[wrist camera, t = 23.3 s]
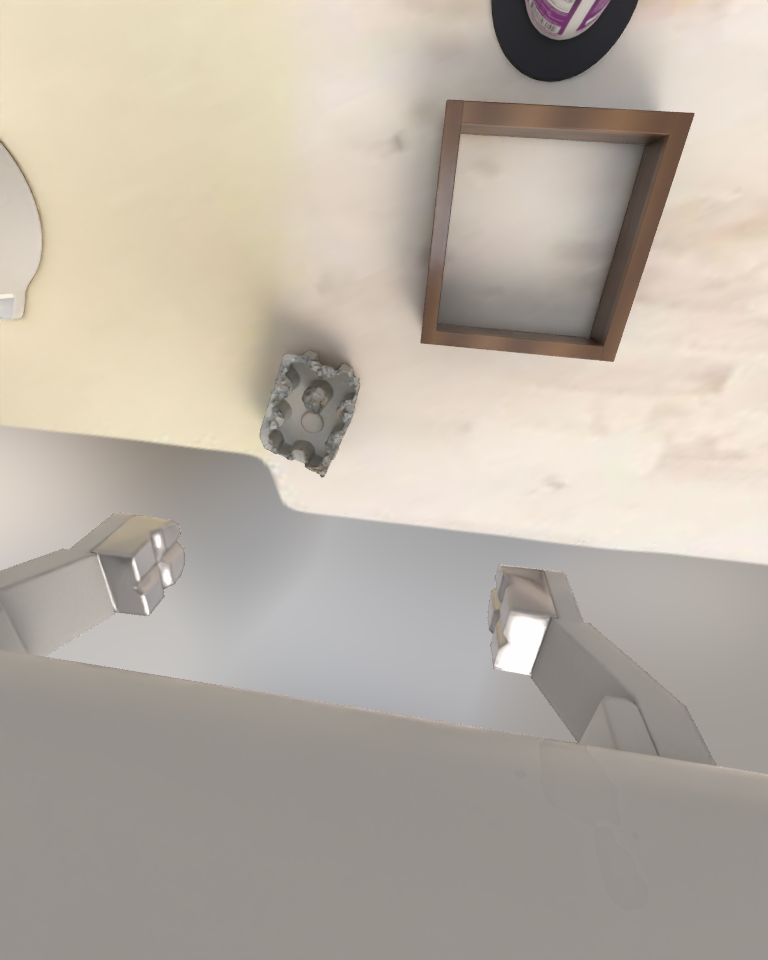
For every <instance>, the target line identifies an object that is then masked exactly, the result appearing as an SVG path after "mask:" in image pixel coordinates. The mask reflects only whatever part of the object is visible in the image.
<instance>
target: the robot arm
mask: <svg viewBox="0 0 768 960" xmlns="http://www.w3.org/2000/svg"><path fill="white" fill-rule="evenodd" d="M41 254H42V230H41V223H40V218H39V214H38V210H37V207H36V204H35V201H34V198H33V195H32V193H31V191H30V188H29V186H28V184H27V182H26V180H25V178H24V176H23V174H22V172H21V171H20V169H19V167H18V166H17V164H16V162H15V161H14V160H13V158H12V157H11V155H10V154H9V152H8V151H7V150H6V148H5V147H4V146H3V145H2V144H1V142H0V320H18V319H20V318H21V317H22V316H23V313H24V307H25V291H26V289H27V287H28V285H29V283H30V281H31V280H32V278H33V277H34V275H35V273H36V271H37V269H38V266H39V263H40V259H41ZM180 535H181V532H180V528H179V524H178V523H177V522H175V521H173V520H167V519H160V518H154V517H148V516H141V515H133V514H127V513H115V514H112V515H111V516H110V517H109V518H107V519H106V520H105V521H104V522H102V523H101V524H100V525H99V526H98V527H97V528H95V529H94V530H92V531H91V532H90V533H89V534H88V535H86V536H85V537H84V538H83V539H81V540H80V541H79V542H78V543H76V544H75V545H74V546H73V547H72V548H70V549H69V550H68V549H61V550H58V551H55V552H52V553H50V554H47V555H44V556H41V557H38V558H36V559H33V560H30V561H27V562H24V563H22V564H19V565H16V566H13V567H10V568H8V569H4V570H2V571H0V960H768V774H763V773H757V772H751V771H745V770H738V769H732V768H726V767H720V766H717V765H716V763H715V761H714V759H713V757H712V755H711V754H710V752H709V750H708V748H707V746H706V744H705V742H704V740H703V738H702V736H701V734H700V732H699V730H698V728H697V726H696V724H695V723H694V721H693V719H692V717H691V715H690V713H689V711H688V709H687V707H686V706H685V705H684V704H683V703H681V702H680V701H679V700H678V699H677V698H676V697H674V696H673V695H672V694H671V693H670V692H668V690H666V689H665V688H664V687H663V686H662V685H661V684H659V683H658V682H657V681H656V680H655V679H654V678H653V677H651V676H650V675H649V674H648V673H647V672H646V671H644V670H643V669H642V668H641V667H640V666H639V665H638V664H637V663H635V662H634V661H633V660H632V659H631V658H630V657H628V656H627V655H626V654H625V653H624V652H623V651H622V650H620V649H619V648H618V647H617V646H616V645H615V644H613V643H612V642H611V641H610V640H609V639H608V638H607V637H605V636H604V635H603V634H602V633H601V632H599V631H598V630H597V629H596V628H595V627H594V626H593V625H592V624H590V623H584V621H583V618H582V616H581V613H580V610H579V608H578V605H577V602H576V600H575V597H574V594H573V592H572V589H571V586H570V584H569V581H568V578H567V576H566V574H565V573H564V572H563V571H554V570H545V569H542V570H540V569H532V568H524V567H516V566H509V565H500V564H499V566H498V568H497V571H496V575H495V580H496V588H495V589H493V590H492V591H491V595H490V600H489V607H488V626H489V630H490V631H491V633H492V634H493V638H492V641H491V653H492V661H493V668H494V669H498V670H504V671H510V672H515V673H521V674H527V675H531V678H532V679H533V681H534V682H535V684H536V685H537V686H538V688H539V689H540V691H541V692H542V694H543V695H544V696H545V698H546V699H547V700H548V702H549V703H550V705H551V706H552V707H553V708H554V710H555V712H556V713H557V714H558V716H559V717H560V718H561V720H562V721H563V723H564V724H565V725H566V727H567V728H568V730H569V731H570V732H571V734H572V735H573V736H574V738H575V739H576V741H577V742H578V743H572V742H566V741H560V740H553V739H548V738H542V737H536V736H529V735H523V734H517V733H510V732H505V731H499V730H492V729H486V728H480V727H474V726H468V725H462V724H456V723H449V722H443V721H437V720H431V719H425V718H418V717H412V716H406V715H400V714H394V713H388V712H382V711H376V710H369V709H363V708H357V707H351V706H345V705H339V704H332V703H326V702H320V701H313V700H308V699H302V698H295V697H289V696H283V695H277V694H270V693H265V692H259V691H252V690H246V689H240V688H234V687H228V686H222V685H216V684H209V683H203V682H197V681H191V680H184V679H178V678H172V677H166V676H160V675H154V674H148V673H141V672H135V671H129V670H123V669H117V668H111V667H104V666H98V665H92V664H86V663H79V662H74V661H67V660H61V659H55V658H49V657H45V656H47V655H48V654H50V653H51V652H53V651H55V650H57V649H58V648H60V647H61V646H63V645H65V644H66V643H68V642H70V641H71V640H73V639H75V638H76V637H78V636H80V635H81V634H83V633H84V632H86V631H88V630H89V629H91V628H93V627H94V626H96V625H98V624H99V623H101V622H103V621H104V620H106V619H107V618H109V617H111V616H112V615H114V614H115V612H118V613H127V614H134V615H143V616H149V615H150V614H151V613H152V612H153V610H154V609H155V608H156V606H157V605H158V604H159V603H160V602H161V600H162V599H163V598H164V589H165V588H167V587H169V586H171V585H173V584H175V583H176V581H177V580H178V579H179V577H180V576H181V574H182V571H183V568H184V565H185V552H184V548H183V547H182V546H181V545H180V544H179V542H178V541H177V539H178V538H179V537H180Z"/></svg>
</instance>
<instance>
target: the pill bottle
mask: <svg viewBox="0 0 768 960" xmlns="http://www.w3.org/2000/svg"><path fill="white" fill-rule="evenodd" d="M609 2H610V0H525V3H526V8H527V12H528V15H529V18H530V20H531V22H532V24H533V25H534V27H535V28H536V29H537V30H538V31H539V32H540V33H541V34H543V35H545V36H547V37H548V38H551V39H555V40H565V39H570V38H573V37H575V36H577V35H579V34H581V33H582V32H584V31H585V30H587V29H588V28H589V27H590V26H591V25H592V24H593V23H594V22H595V21H596V20H597V19H598V18H599V16H600V15H601V13H602V12H603V11H604V9H605V8H606V6H607V5H608V3H609Z"/></svg>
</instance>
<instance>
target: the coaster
mask: <svg viewBox="0 0 768 960" xmlns="http://www.w3.org/2000/svg"><path fill="white" fill-rule="evenodd" d="M637 2H638V0H610V2H609V3H608V5H607V6H606V8H605V9H604V11H603V12H602V13H601V15H600V16H599V18H598V19H597V20H596V21H595V22H594V23H593V24H592V25H591V26H590V27H589V28H588V29H587V30H585V31H584V32H582V33H581V34H579V35H577V36H575V37H573V38H570V39H565V40H555V39H551V38H548V37H547V36H545V35H543V34H541V33H540V32H539V31H538V30H537V29H536V28H535V27H534V25H533V24H532V22H531V20H530V18H529V15H528V12H527V8H526V3H525V0H492V15H493V22H494V28H495V32H496V35H497V38H498V41H499V43H500V46H501V48H502V50H503V52H504V53H505V55H506V57H507V58H508V59H509V61H510V62H511V63H512V64H513V65H514V66H515V67H516V68H517V69H518V70H519V71H521V72H522V73H524V74H525V75H527V76H529V77H531V78H534V79H537V80H541V81H560V80H564V79H568V78H571V77H573V76H576V75H578V74H580V73H582V72H583V71H585V70H587V69H588V68H590V67H591V66H592V65H594V64H595V63H596V62H598V61H599V60H600V59H601V58H602V57H603V56H604V55H605V54H606V53H607V52H608V51H609V49H610V48H611V47H612V46H613V45H614V44H615V42H616V41H617V40H618V38H619V37H620V35H621V34H622V33H623V31H624V29H625V28H626V26H627V24H628V22H629V21H630V19H631V16H632V14H633V12H634V10H635V8H636V5H637Z"/></svg>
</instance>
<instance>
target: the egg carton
mask: <svg viewBox="0 0 768 960" xmlns="http://www.w3.org/2000/svg"><path fill="white" fill-rule="evenodd" d="M359 380H360V378H356V377H354V375H353V368H352V367H351V366H348V365H346V364H342V365H341V367H340V368H339V369H338V370H335V369H334V368H332V367H331V366H323V365H322V364H321V363H320V361H319V354H318V353H315V352H313V351H311V350H308V351H307V352H306V353H304V354H303V355H302V356H299V355H292V354H285V355H284V357H283V360H282V363H281V366H280V369H279V373H278V377H277V379H276V383H275V385H274V388H273V390H272V392H271V396H270V401H269V404H268V407H267V410H266V414H265V417H264V420H263V423H262V426H261V429H260V439H261V442H262V444H263V446H264V448H265V449H267V450H269V451H271V452H273V453H274V454H279V455H282V456H284V457H286V458H287V459H288V460H294V459H295V460H297V461H300V462H302V463H305V467H306V468H307V469H309V470H311V471H313V472H317V473H318V474H320V476H321V477H324V476H325V474H326V472H327V469H328V467H329V465H330V463H331V460H333V459H334V458H335V456H336V454H337V452H338V449H339V446H340V443H341V441H342V438H343V436H344V434H345V432H346V430H347V428H348V426H349V424H350V422H351V419H352V416H353V412H354V408H355V404H356V400H357V394H358V391H359V388H360V383H359Z"/></svg>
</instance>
